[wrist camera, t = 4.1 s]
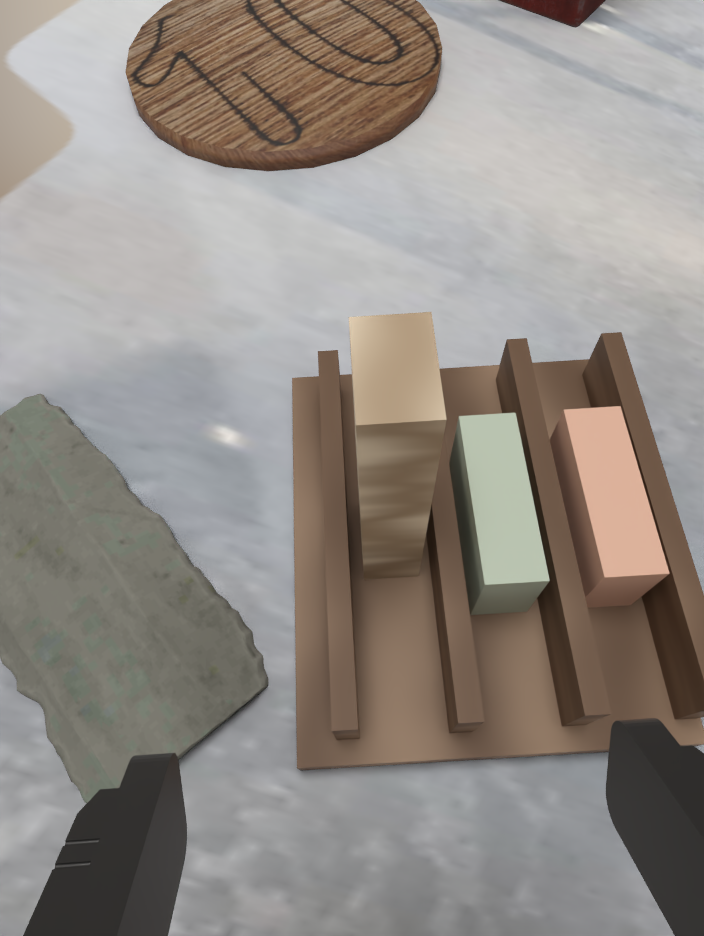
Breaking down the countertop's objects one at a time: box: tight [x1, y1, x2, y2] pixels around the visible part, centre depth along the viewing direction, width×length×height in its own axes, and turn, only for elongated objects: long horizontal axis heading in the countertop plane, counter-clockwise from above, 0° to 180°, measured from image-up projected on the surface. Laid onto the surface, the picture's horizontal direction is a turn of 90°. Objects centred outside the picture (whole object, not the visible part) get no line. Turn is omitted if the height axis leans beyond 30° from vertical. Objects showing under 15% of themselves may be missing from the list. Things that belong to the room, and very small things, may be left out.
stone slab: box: [0, 394, 268, 803], centre depth 33 cm, size 22×3×10 cm
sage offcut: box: [449, 413, 550, 615], centre depth 30 cm, size 3×8×4 cm, turn 3°
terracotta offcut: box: [550, 406, 670, 608], centre depth 30 cm, size 3×8×4 cm, turn 3°
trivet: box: [126, 0, 442, 171], centre depth 52 cm, size 25×25×2 cm
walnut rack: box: [292, 332, 704, 770], centre depth 31 cm, size 17×20×5 cm
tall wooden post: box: [349, 312, 447, 580], centre depth 26 cm, size 3×4×14 cm, turn 3°
